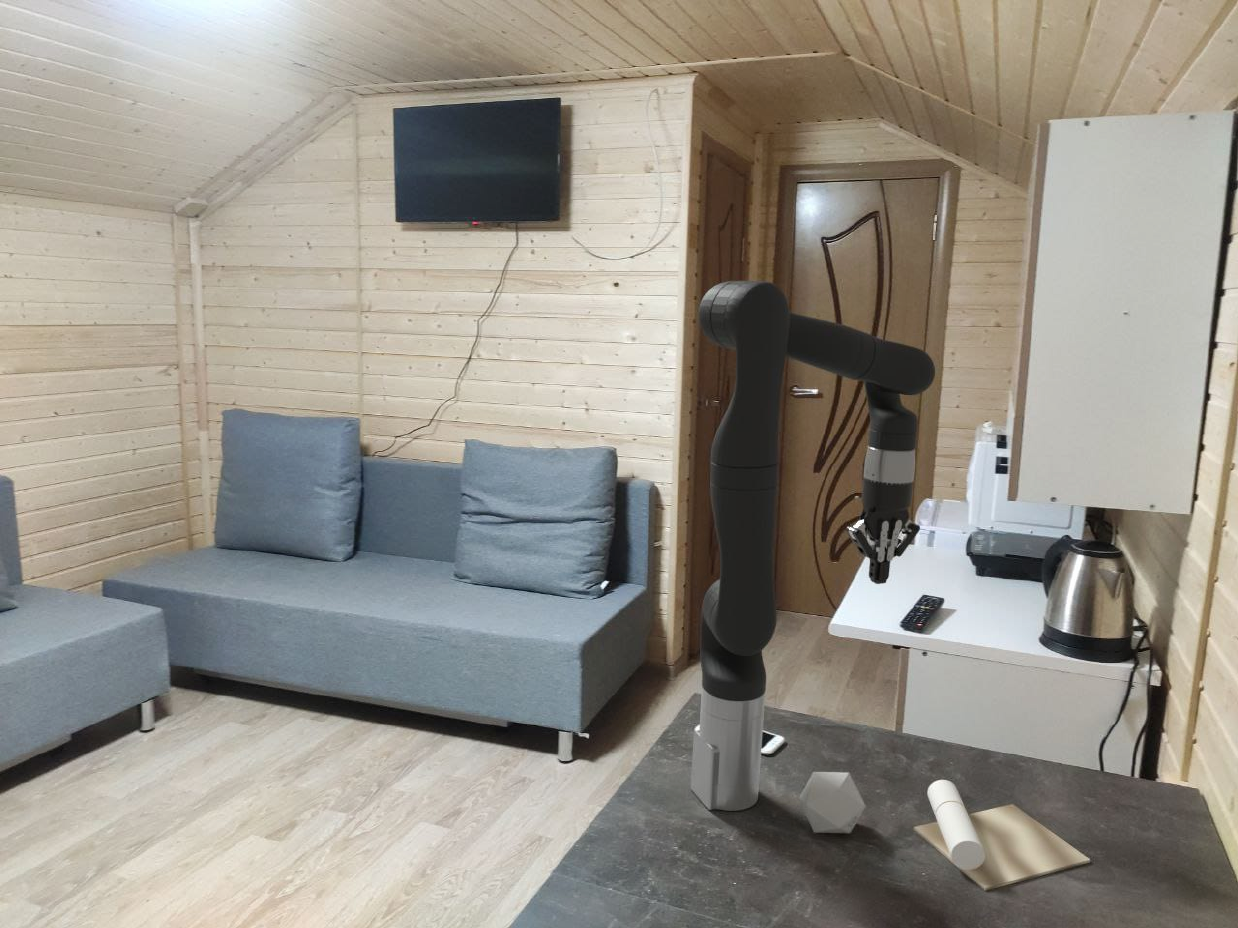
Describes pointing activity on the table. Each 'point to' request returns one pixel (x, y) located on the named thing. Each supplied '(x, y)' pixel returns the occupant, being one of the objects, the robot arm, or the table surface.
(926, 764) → the table surface
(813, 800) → the die
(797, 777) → the table surface
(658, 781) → the table surface
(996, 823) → the birch board
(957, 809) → the tube
